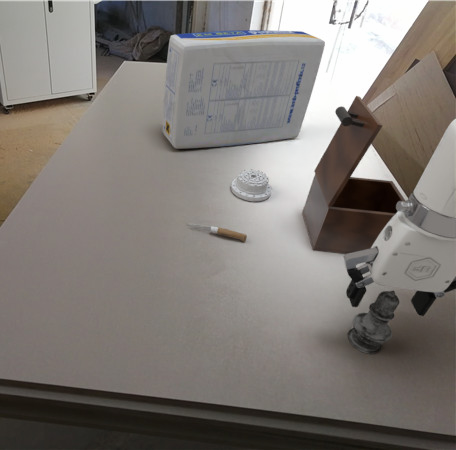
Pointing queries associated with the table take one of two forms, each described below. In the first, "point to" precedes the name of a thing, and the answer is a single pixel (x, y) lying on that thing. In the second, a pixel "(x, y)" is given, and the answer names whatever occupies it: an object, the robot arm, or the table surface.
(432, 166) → the robot arm
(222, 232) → the folding knife
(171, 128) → the construction material bag
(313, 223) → the chest
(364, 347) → the dark grey chess piece
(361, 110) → the lid
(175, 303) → the table surface
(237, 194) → the mechanical component
